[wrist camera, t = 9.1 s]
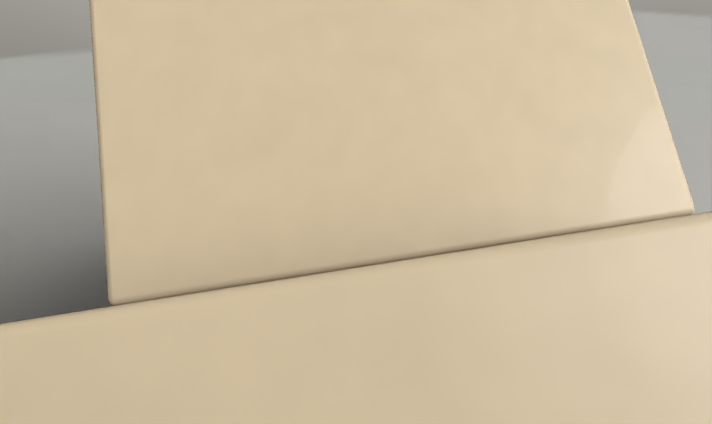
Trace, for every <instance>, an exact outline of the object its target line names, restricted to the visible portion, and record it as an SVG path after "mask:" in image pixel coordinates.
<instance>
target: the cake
mask: <svg viewBox="0 0 712 424" xmlns="http://www.w3.org/2000/svg"><path fill="white" fill-rule="evenodd" d="M89 2H90V19H91V34H92V51H93V67H94V82H95V98H96V114H97V129H98V145H99V161H100V176H101V192H102V208H103V223H104V239H105V255H106V270H107V286H108V300H109V302H110V304H111V305H113V306H117V305H123V304H130V303H136V302H142V301H149V300H155V299H161V298H168V297H174V296H180V295H187V294H193V293H199V292H206V291H212V290H218V289H225V288H231V287H237V286H244V285H250V284H256V283H263V282H269V281H275V280H282V279H288V278H294V277H301V276H307V275H313V274H319V273H326V272H332V271H338V270H345V269H351V268H357V267H364V266H370V265H376V264H383V263H389V262H395V261H402V260H408V259H414V258H421V257H427V256H433V255H440V254H446V253H452V252H459V251H465V250H471V249H478V248H484V247H490V246H496V245H503V244H509V243H515V242H522V241H528V240H534V239H541V238H547V237H553V236H560V235H566V234H572V233H579V232H585V231H591V230H598V229H604V228H610V227H617V226H623V225H629V224H636V223H642V222H648V221H655V220H661V219H667V218H674V217H680V216H686V215H691V214H692V213H693V212H694V209H695V207H694V204H693V201H692V198H691V194H690V191H689V188H688V185H687V182H686V179H685V176H684V173H683V170H682V166H681V163H680V160H679V157H678V154H677V151H676V148H675V145H674V142H673V138H672V135H671V132H670V129H669V126H668V123H667V120H666V117H665V114H664V111H663V107H662V104H661V101H660V98H659V95H658V92H657V89H656V86H655V83H654V79H653V76H652V73H651V70H650V67H649V64H648V61H647V58H646V55H645V51H644V48H643V45H642V42H641V39H640V36H639V33H638V30H637V27H636V23H635V20H634V17H633V14H632V11H631V8H630V5H629V2H628V0H89Z"/></svg>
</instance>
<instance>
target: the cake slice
mask: <svg viewBox="0 0 712 424" xmlns="http://www.w3.org/2000/svg"><path fill="white" fill-rule="evenodd" d="M0 424H712V211H711V212H705V213H699V214H692V215H686V216H680V217H674V218H667V219H661V220H655V221H648V222H642V223H636V224H629V225H623V226H617V227H610V228H604V229H598V230H591V231H585V232H579V233H572V234H566V235H560V236H553V237H547V238H541V239H534V240H528V241H522V242H515V243H509V244H503V245H496V246H490V247H484V248H478V249H471V250H465V251H459V252H452V253H446V254H440V255H433V256H427V257H421V258H414V259H408V260H402V261H395V262H389V263H383V264H376V265H370V266H364V267H357V268H351V269H345V270H338V271H332V272H326V273H319V274H313V275H307V276H301V277H294V278H288V279H282V280H275V281H269V282H263V283H256V284H250V285H244V286H237V287H231V288H225V289H218V290H212V291H206V292H199V293H193V294H187V295H180V296H174V297H168V298H161V299H155V300H149V301H142V302H136V303H130V304H123V305H117V306H111V307H105V308H98V309H92V310H86V311H79V312H73V313H67V314H60V315H54V316H48V317H41V318H35V319H29V320H22V321H16V322H10V323H3V324H0Z"/></svg>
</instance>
